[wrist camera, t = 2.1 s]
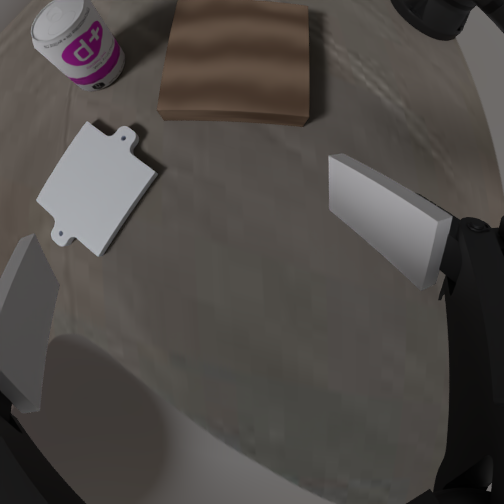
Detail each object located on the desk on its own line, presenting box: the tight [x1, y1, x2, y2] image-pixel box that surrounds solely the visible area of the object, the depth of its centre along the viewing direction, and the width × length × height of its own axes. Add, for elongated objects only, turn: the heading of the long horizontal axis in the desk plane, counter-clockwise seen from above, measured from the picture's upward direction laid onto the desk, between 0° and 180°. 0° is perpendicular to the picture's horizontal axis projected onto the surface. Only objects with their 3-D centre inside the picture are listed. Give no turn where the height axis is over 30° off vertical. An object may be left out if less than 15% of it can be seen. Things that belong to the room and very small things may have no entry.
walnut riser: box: [157, 0, 309, 127], centre depth 37 cm, size 18×18×4 cm
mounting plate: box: [36, 122, 158, 257], centre depth 38 cm, size 18×13×2 cm
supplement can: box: [31, 0, 125, 91], centre depth 30 cm, size 8×8×15 cm
